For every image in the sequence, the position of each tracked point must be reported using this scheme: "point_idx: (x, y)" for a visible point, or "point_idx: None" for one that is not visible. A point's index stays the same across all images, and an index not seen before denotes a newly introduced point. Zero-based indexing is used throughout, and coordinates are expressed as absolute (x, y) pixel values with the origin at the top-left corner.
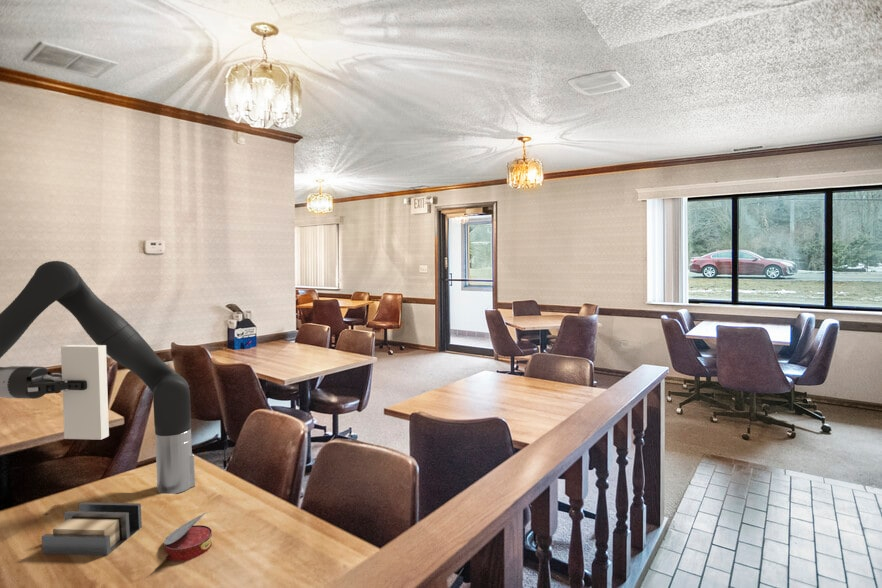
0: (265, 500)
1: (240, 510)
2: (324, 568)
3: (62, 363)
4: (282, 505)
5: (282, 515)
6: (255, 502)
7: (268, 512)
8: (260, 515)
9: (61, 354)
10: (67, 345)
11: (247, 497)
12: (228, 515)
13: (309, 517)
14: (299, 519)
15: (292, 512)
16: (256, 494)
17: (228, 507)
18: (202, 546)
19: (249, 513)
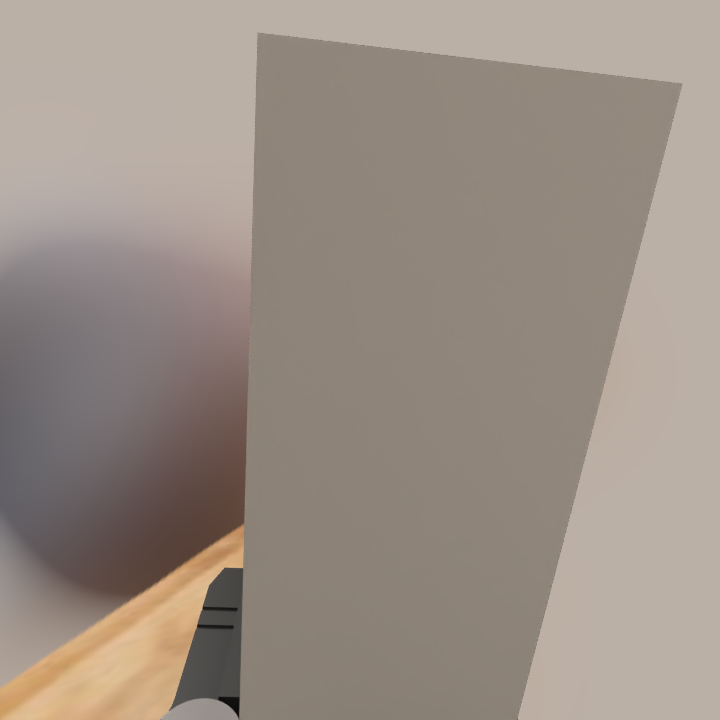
0: (109, 633)
1: (151, 675)
2: None
3: (529, 599)
4: (153, 592)
5: (204, 581)
6: (112, 653)
7: (182, 609)
8: (193, 621)
9: (602, 375)
10: (437, 72)
11: (66, 686)
12: (173, 695)
13: (223, 540)
14: (228, 552)
15: (194, 568)
16: (54, 668)
17: (119, 716)
18: None
19: (176, 647)
